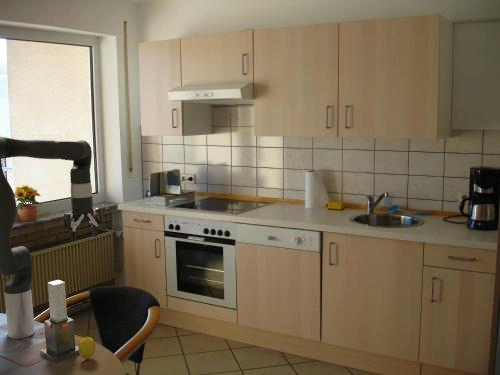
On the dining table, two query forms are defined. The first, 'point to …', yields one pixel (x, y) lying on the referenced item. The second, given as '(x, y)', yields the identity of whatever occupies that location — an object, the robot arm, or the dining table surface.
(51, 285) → the column
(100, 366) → the dining table surface
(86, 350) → the lemon
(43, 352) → the stand base
